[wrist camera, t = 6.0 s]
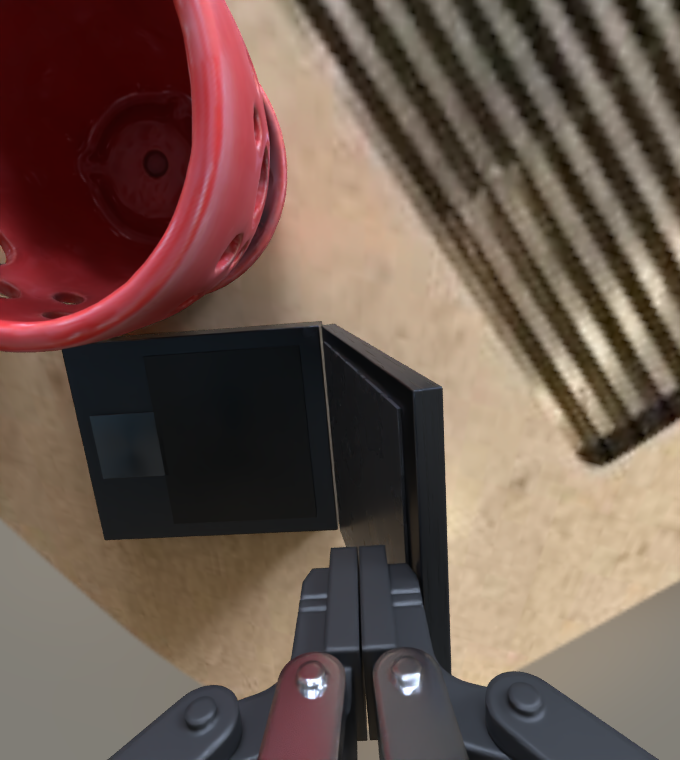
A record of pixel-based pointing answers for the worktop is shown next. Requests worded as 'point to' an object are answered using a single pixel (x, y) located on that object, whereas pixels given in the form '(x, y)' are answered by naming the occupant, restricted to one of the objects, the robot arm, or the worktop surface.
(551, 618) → the worktop surface
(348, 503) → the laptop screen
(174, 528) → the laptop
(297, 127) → the worktop surface
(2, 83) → the flower pot
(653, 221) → the worktop surface
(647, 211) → the worktop surface
